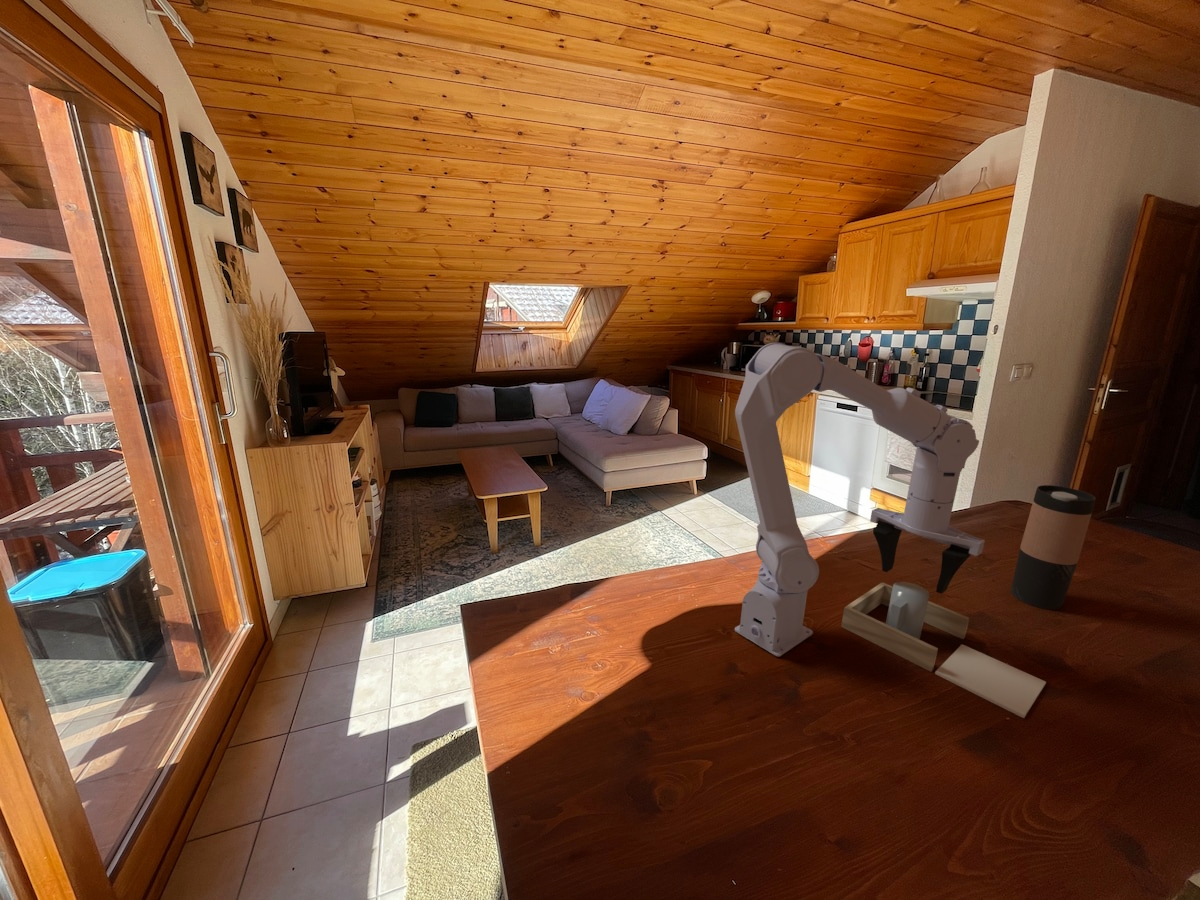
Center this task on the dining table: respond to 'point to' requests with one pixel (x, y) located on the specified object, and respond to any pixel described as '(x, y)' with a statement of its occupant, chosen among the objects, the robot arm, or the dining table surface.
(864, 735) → the dining table surface
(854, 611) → the frame
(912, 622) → the grey domed cylinder
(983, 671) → the coaster
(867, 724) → the dining table surface
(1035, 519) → the travel mug
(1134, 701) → the dining table surface
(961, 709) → the dining table surface
